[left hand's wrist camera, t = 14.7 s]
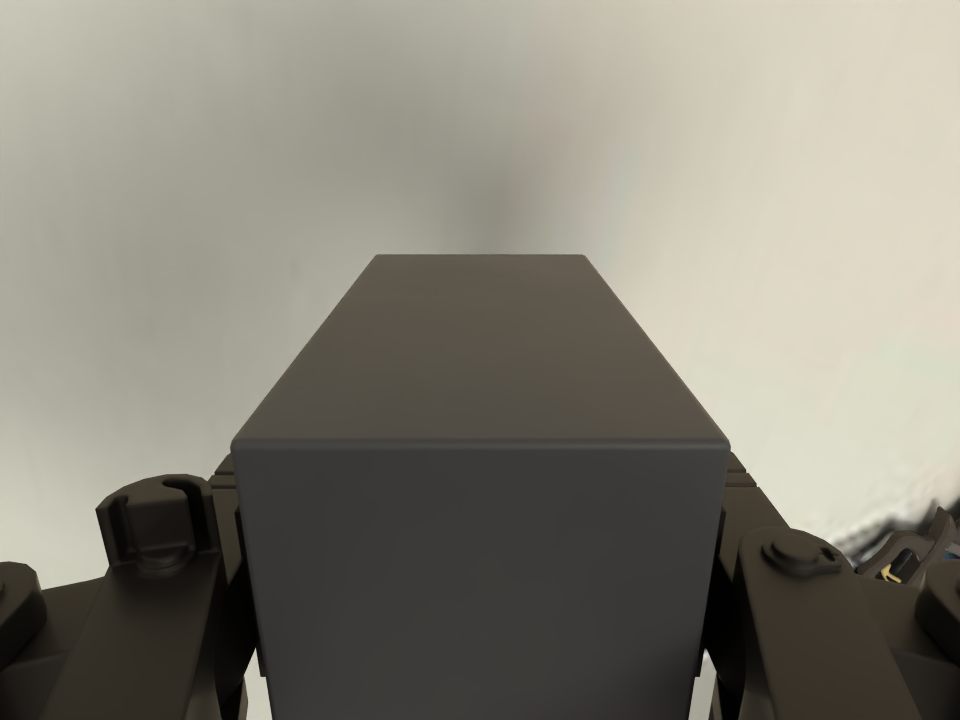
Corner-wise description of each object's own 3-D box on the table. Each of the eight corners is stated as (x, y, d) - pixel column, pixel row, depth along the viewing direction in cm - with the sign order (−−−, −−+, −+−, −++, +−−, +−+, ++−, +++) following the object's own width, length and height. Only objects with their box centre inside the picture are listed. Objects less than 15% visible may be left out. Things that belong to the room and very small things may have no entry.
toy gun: (773, 639, 37) (923, 707, 38) (972, 356, 32) (1142, 437, 33) (757, 610, 40) (897, 674, 40) (939, 344, 35) (1096, 420, 35)
